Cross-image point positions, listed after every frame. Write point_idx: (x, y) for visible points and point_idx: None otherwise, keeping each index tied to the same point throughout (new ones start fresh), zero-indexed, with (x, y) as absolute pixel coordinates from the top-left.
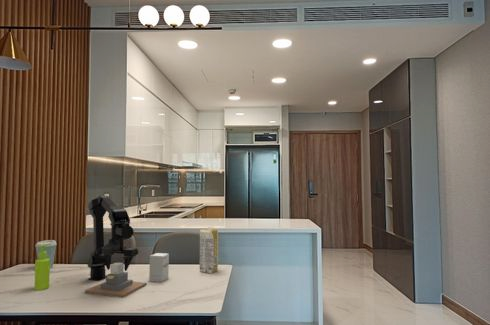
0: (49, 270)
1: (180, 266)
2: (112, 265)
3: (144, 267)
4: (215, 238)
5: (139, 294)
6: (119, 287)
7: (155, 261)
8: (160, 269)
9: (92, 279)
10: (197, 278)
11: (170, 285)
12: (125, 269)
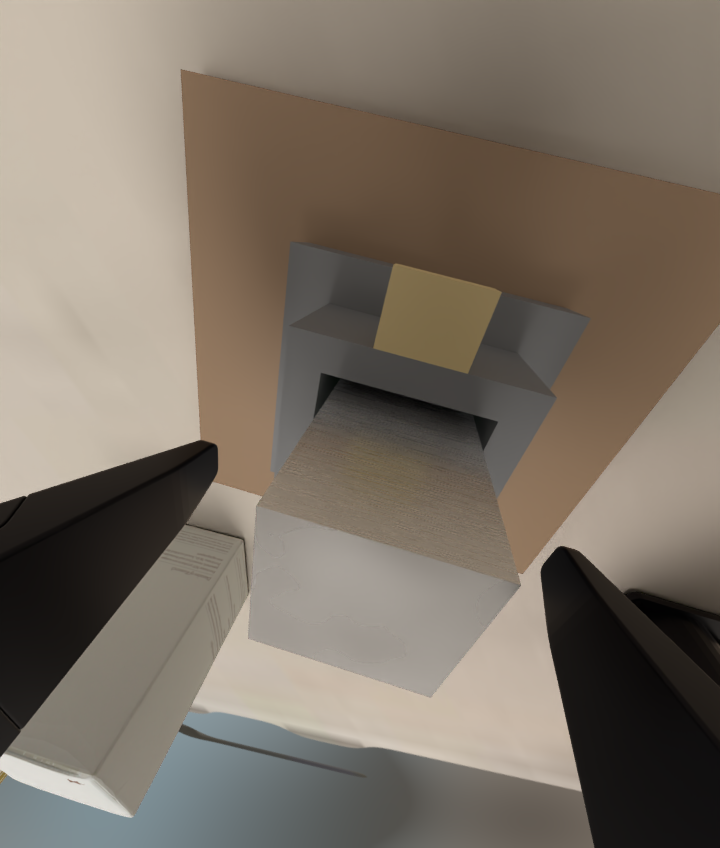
0: None
1: (226, 699)
2: (454, 545)
3: (387, 724)
4: None
5: (121, 228)
6: (298, 243)
7: (80, 682)
8: None
9: (695, 611)
10: None
11: (70, 455)
12: (178, 448)
